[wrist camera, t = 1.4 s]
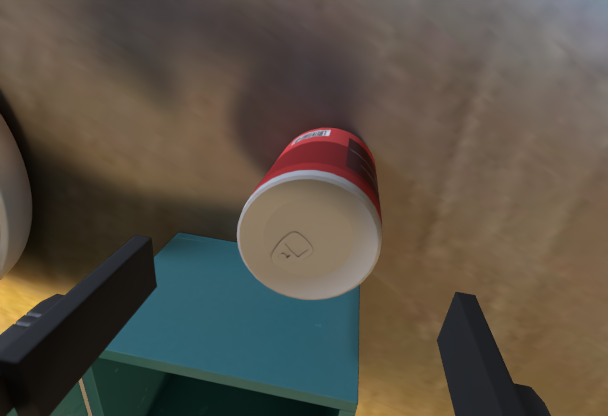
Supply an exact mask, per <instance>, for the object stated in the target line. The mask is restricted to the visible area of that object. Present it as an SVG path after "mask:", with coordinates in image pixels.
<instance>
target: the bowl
mask: <svg viewBox="0 0 608 416" xmlns="http://www.w3.org/2000/svg"><path fill="white" fill-rule="evenodd" d="M31 222H32V196H31V189H30V183H29V179H28V175H27V171H26V168H25V164H24V161H23V159H22V156H21V153H20V151H19V148H18V146H17V144H16V141H15V139H14V137H13V135H12V133H11V131H10V129H9V127H8V126H7V124H6V122H5V120H4V119H3V117H2V115H1V114H0V280H1V279H2V278H3V277H4V276H5V275H6V274H7V273H8V272H9V271H10V270H11V269H12V268H13V267H14V265H15V264H16V262H17V261H18V259H19V258H20V256H21V254H22V252H23V250H24V248H25V246H26V243H27V240H28V237H29V233H30V228H31Z"/></svg>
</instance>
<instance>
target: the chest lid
mask: <svg viewBox="0 0 608 416" xmlns="http://www.w3.org/2000/svg"><path fill="white" fill-rule="evenodd" d="M7 416H18V415H17V413H16V410H15V408H13V409H12V410H11V411H10V412H9V413H8V414H7ZM50 416H88V413H87V410H86V406H85V403H84V399H83V396H82V392H81V389H80V385H79V382H77V383H76V385H75V386H74V387H73V388H72V389H71V391H70V392H69V393H68V394H67V395H66V397H65V398H64V399H63V400H62V401H61V403H60V404H59V405H58V406H57V407H56V409H55V410H54V411H53V412H52V413H51V415H50Z"/></svg>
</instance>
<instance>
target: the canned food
mask: <svg viewBox="0 0 608 416" xmlns="http://www.w3.org/2000/svg"><path fill="white" fill-rule="evenodd" d="M237 242H238V249H239V251H240V254H241V257H242V260H243V261H244V263H245V265H246V266H247V268H248V270H249V271H250V272H251V273H252V274H253V275H254V276H255V278H256V279H257V280H259V281H260V282H261V283H262V284H264V285H265V286H266V287H268V288H270V289H272V290H273V291H275V292H277V293H280V294H282V295H285V296H288V297H291V298H296V299H301V300H321V299H329V298H332V297H336V296H339V295H342V294H344V293H346V292H348V291H350V290H352V289H354V288H355V287H356V286H358V285H359V284H360V283H362V282H363V281H364V280H365V279H366V278H367V276H368V275H369V274H370V273H371V272H372V270H373V268H374V267H375V265H376V263H377V261H378V258H379V254H380V251H381V245H382V219H381V211H380V202H379V193H378V184H377V176H376V168H375V162H374V159H373V157H372V154H371V152H370V151H369V149H368V148H367V146H366V145H365V144H364V143H363V142H362V141H361V140H360V139H359V138H358V137H356V136H355V135H353V134H351V133H349V132H347V131H344V130H341V129H336V128H318V129H314V130H310V131H308V132H305V133H303V134H301V135H300V136H298V137H297V138H295V139H294V140H293V141H292V142H291V143H290V144H289V145H288V146H287V147H286V148H285V150H284V151H283V152H282V154H281V155H280V156H279V158H278V159H277V160H276V162H275V163H274V164H273V166H272V167H271V169H270V170H269V171H268V173H267V174H266V175H265V177H264V178H263V179H262V181H261V182H260V183H259V185H258V186H257V187H256V189H255V190H254V192H253V194H252V195H251V196H250V198H249V200H248V201H247V203H246V205H245V206H244V208H243V211H242V213H241V216H240V219H239V222H238V228H237Z"/></svg>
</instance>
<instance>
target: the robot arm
mask: <svg viewBox="0 0 608 416" xmlns="http://www.w3.org/2000/svg"><path fill="white" fill-rule="evenodd" d="M156 287H157V283H156V274H155V265H154V257H153V248H152V239H151V238H149V237H143V236H138V235H135V236H133V237H132V238H131V239H130V240H129V241H128V242H126V243H125V244H124V245H123V246H122V247H121V248H119V249H118V250H117V251H116V252H115V253H114V254H112V255H111V256H110V257H109V258H108V259H107V260H105V261H104V262H103V263H102V264H101V265H100V266H98V267H97V268H96V269H95V270H94V271H93V272H91V273H90V274H89V275H88V276H87V277H86V278H84V279H83V280H82V281H81V282H80V283H79V284H77V285H76V286H75V287H74V288H73V289H72V290H70V291H69V292H68V293H67V294H66V295H60V294H56V295H54V296H52V297H50V298H48V299H46V300H44V301H42V302H40V303H39V304H38V305H36V306H35V307H34V308H33V309H31V310H30V311H29V312H28V313H27V315H24V316H23V317H22V318H20V319H19V320H18V321H17V322H16V324H13V325H12V326H11V327H9V328H8V329H7V330H6V331H4V332H3V333H2V334H1V335H0V416H7V414H8V413H9V412H10V411H11V410H12V409H13V408H15V410H16V413H17V415H18V416H50V415H51V413H52V412H53V411H54V410H55V409H56V407H57V406H58V405H59V404H60V403H61V401H62V400H63V399H64V398H65V397H66V395H67V394H68V393H69V392H70V391H71V389H72V388H73V387H74V386H75V385H76V383H77V382H78V381H79V380H80V379H81V377H82V376H83V375H84V374H85V373H86V371H87V370H88V369H89V368H90V367H91V365H92V364H93V363H94V362H95V361H96V359H97V358H98V357H99V356H100V355H101V353H102V352H103V351H104V350H105V349H106V347H107V346H108V345H109V344H110V343H111V341H112V340H113V339H114V338H115V337H116V335H117V334H118V333H119V332H120V331H121V329H122V328H123V327H124V326H125V325H126V323H127V322H128V321H129V320H130V319H131V317H132V316H133V315H134V314H135V313H136V311H137V310H138V309H139V308H140V307H141V305H142V304H143V303H144V302H145V301H146V299H147V298H148V297H149V296H150V295H151V293H152V292H153V291H154V290H155V289H156ZM437 342H438V346H439V350H440V355H441V359H442V363H443V367H444V371H445V375H446V379H447V383H448V387H449V391H450V396H451V400H452V404H453V408H454V412H455V416H551V415H550V413H549V411H548V409H547V407H546V405H545V403H544V402H543V401H542V399H541V398H540V397H539V396H538V395H537V394H536V393H535V391H534V390H533V389H532V388H531V387H529V386H524V385H519V384H514V383H513V381H512V379H511V377H510V374H509V372H508V370H507V368H506V365H505V363H504V361H503V358H502V356H501V354H500V351H499V349H498V347H497V345H496V342H495V340H494V338H493V335H492V333H491V331H490V328H489V326H488V324H487V322H486V319H485V317H484V315H483V312H482V310H481V308H480V306H479V303H478V301H477V299H476V296H475V295H471V294H465V293H459V292H455V295H454V298H453V300H452V303H451V305H450V308H449V310H448V313H447V316H446V318H445V321H444V323H443V326H442V329H441V331H440V334H439V336H438V339H437Z"/></svg>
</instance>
